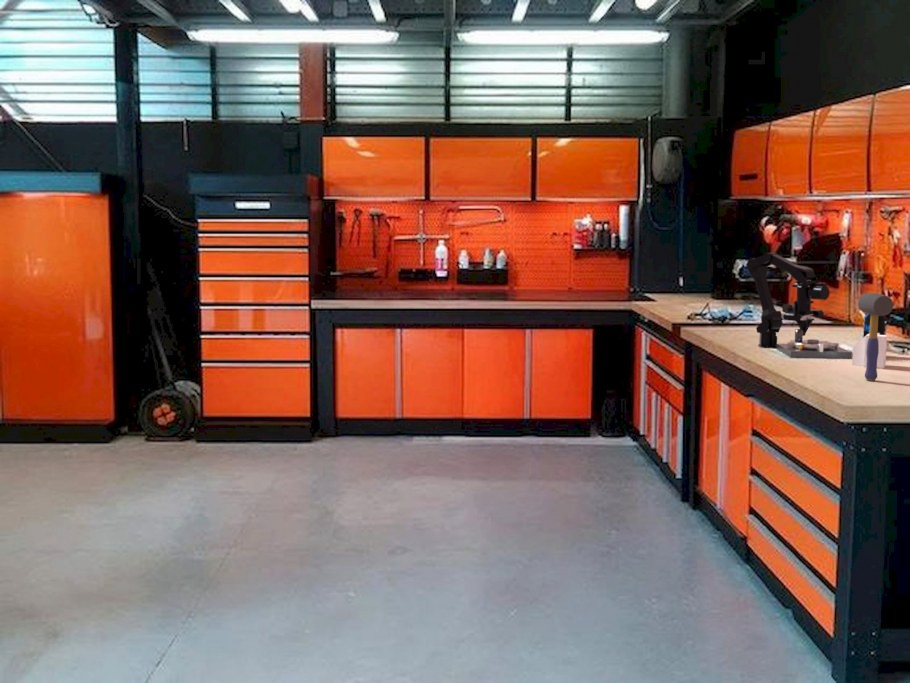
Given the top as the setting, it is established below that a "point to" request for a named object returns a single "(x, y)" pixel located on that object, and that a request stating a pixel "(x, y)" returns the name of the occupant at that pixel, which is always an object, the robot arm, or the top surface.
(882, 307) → the rubber mallet
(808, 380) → the top surface
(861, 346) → the corner bracket
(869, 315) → the aerosol can
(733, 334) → the top surface
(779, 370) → the top surface
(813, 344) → the sprocket
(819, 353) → the index base
